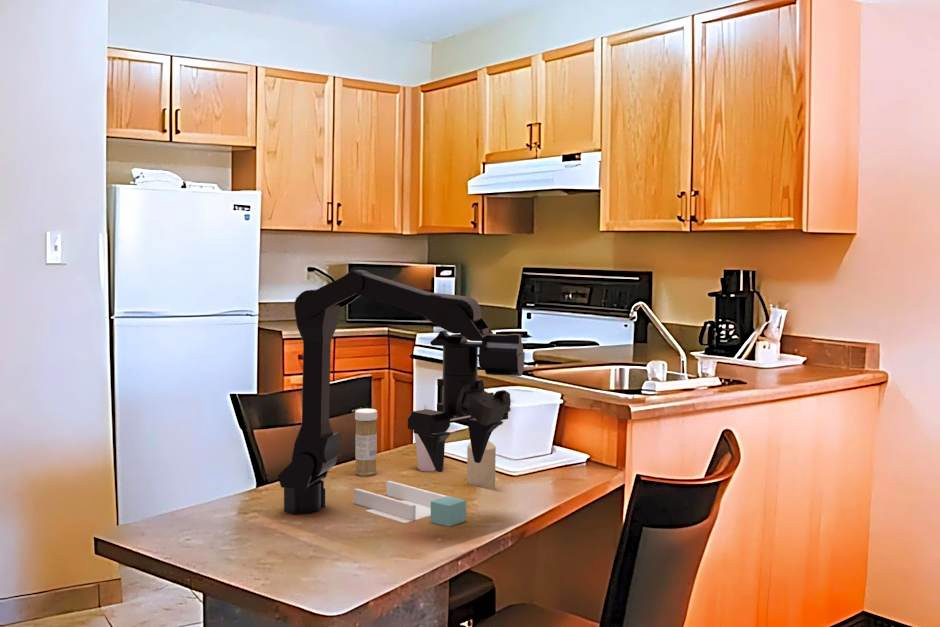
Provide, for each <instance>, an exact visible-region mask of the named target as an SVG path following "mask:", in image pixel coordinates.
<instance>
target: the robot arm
mask: <svg viewBox="0 0 940 627" xmlns="http://www.w3.org/2000/svg"><path fill="white" fill-rule="evenodd" d="M360 297H365V298H367V299H370V300H373V301H377V302H379V303H383V304H386V305H390V306H393V307H396V308H399V309H402V310H405V311H408V312H410V313H415V314H418V315H419V316H421V317H423V318H425V319H426V320H428V321H429V322H431V323H432V324H434V325H435V326H437V327H439V328H441V329H443V330H441V331H439V333H438V334H437V335H436V337H435V338H433V339H432V340H430V345H431V346H434V347H442V378H437V382H436V385H437V386H441V387H442V396H441V398H442V401H441V403H437V404H436V410H433V409H429V408H427V409H424V408H423V409H419V410H413V411H411V412H410V413H409V414H408V416H407V430H412V432H413V434H414V433H416V434H418V435H419V437H420V439H421V441H422V442H423V444H424V446H425V448H426V450H427V452H428V454H429V456H430V459H431V461H432V463H433V465H434V467H435V469H436V470H435V471H436V472H438V473H442V472H443V470H444V464H445V449H446V447H445V446H446V444H445V443H446V440H447V439H448V438H449V437H450V435H451V434H452V432H449V431H448V430H449V428H450V426H451V424H452V423H453V424H454V423H457V422H462V421H467V427H468V433H469V434H468V435H469V439H470V443H471V447H472V454H473V458H474V462H476V463H480V462H481V460H482V457H483V454H484V451H485V448H486V445H487V443H488V441H490V436H491V435H492V432H493V431H494V430H496V428H498V427H499V426H501V425H503V424H504V421H505V420H508V419H509V412H510V411H511V405H512V403H511V393H510V392H508V391H506V390H505V389H502V390H497V391H495V393H494V392H488V391H486V390H485V384H484V382H483V381H484V380H483V379H478V369H479V368H480V369H481V370H482V371H484V372H485V375H488V376H490V375H491V376H505V377H506V376H507V377H522V375H523V373H524V369H525V368H524V367H525V352H524V345H523V342H522V334H521V333H510V334H500V333H499V334H498V333H496V334H494V332H493V331H492V330H491V328H490V327H489V325H488V324H487V322H486V320H485V319H484V318H483V317H482V314H483V313H482V309H481V307H480V304H479V303H478V301H477V300H476V299H475V298H473V297H470V296H466V295H458V294H452V293H451V294H447V293H439V292H430V291H428V290H427V291H426V290H423V289H420V288H418V287H417V288H416V287H414V286H411V285H407V284H405V283H402V282H397V281H395V280H392V279H389V278H386V277H382V276H380V275H379V276H378V275H375V274H373V273H371V272H369V271H367V270H362V269H360V270H359V269H358V270H351V271H348V272H347V273H346V274H345V275H342V277H340V278H338V279H336V280H333V281H332V282H329V283H328V284H325V285H323V286H321V287H319V288H317V289H308V290H306V289H305V291H303V292H301V293H300V294H299V295H298V296H297V297H295V300H294V305H293V310H294V317H295V323H296V324H295V325H296V327H297V330H298V332H299V334H300V337H301V340H302V343H303V345H302V346H303V347H302V348H303V350H302V386H301V387H302V389H301V390H302V394H301V398H302V400H301V425H300V428H299V430H298V433H297V436H296V437H295V441H294V443H293V449H292V454H291V460H290V461H291V462H290V463H289V464H288V465H287V466H286V467H285V468H284V469H283V470H282V471H280V473H279V474H278V475H277V478H278V482H279V485H280V487H281V488H282V489H283V512H284V513H287V514H289V515H290V514H291V515H294V516H298V515H310V514H315V513H318V512H320V511H321V510H322V509H324V508H326V488H325V487H324V486H325V483H324V482H325V481H324V480H323V479H326V478H327V476H328V472H329V470H331V469H332V468H333V467H334V466H335V465H336V463H337V461H338V457H339V456H342V453H341V450H340V449H341V448H340V442H341V436H342V435H341V432H334V431H333V428H332V427H331V425H330V394H331V393H330V392H331V384H330V383H331V353H332V352H331V347H332V346H331V345H332V339H333V337H334V334H335V332H336V330H337V327H338V325H339V319H340V313H341V309H343V308H344V307H346V306H347V305H349V304H351V303H352V302H354V301H355V300H356V299H358V298H360ZM448 332H449V333H451V334H449V333H448ZM452 334H455V335H452ZM456 334H460V335H456ZM478 366H479V368H478Z"/></svg>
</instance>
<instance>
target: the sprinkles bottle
mask: <svg viewBox="0 0 940 627" xmlns="http://www.w3.org/2000/svg"><path fill="white" fill-rule="evenodd" d="M354 419H355V441H354V442H355V446H354V447H355V452H354V453H355V456H354V457H355V470H354V474H356V475H357V476H365V477H369V476H374V475H376V474H377V473H378V471H377V457H378V451H377V449H378V448H377V447H378V446H377V445H378V443H377V440H378V439H377V435H378V434H377V421H378V420H377V419H378V410H377V409H375V408H359V409H356V410H355V412H354Z"/></svg>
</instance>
